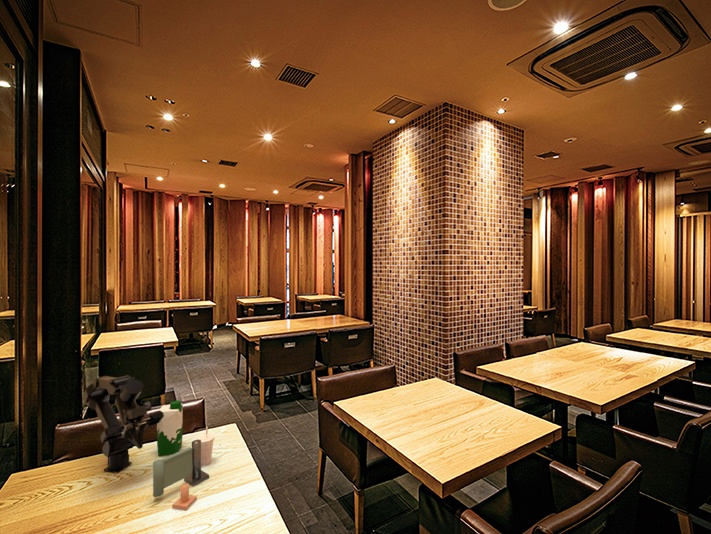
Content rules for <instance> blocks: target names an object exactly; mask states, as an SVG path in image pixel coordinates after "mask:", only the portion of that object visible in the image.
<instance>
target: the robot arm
mask: <svg viewBox="0 0 711 534" xmlns="http://www.w3.org/2000/svg"><path fill="white" fill-rule="evenodd" d="M143 390H144V383H143V382H142V381H141V380H139V379H136V378H135V376H133V377H131V375H124V376H120V377H114V376H109V375H103V376H99V377H95V378H94V379H93V380H92V381H91V384H89V385H88V386H87V387H86V388H85V390H84V393H83V395H82V400H83V402H84V404H85V405H86V406H87V407H88V408H89V409H92V410H94V411H95V412H96V414H97V416H98V419H99V420H100V422H101V424H102V426H103V428H104V429H103V431H102V432H101V435H100V441H101V443H102V444H103V446H102V447H101V448H102V449H101V450H102V455H103V456H105V457H106V458H107V467H106V468H103V472H110V473H116V474H117V473H120V472H121V471H123V470H124V469H126V468H127V467H129V466H130V465H132V464H133V462H132V461H130V454H129V450H131V449H133V447H134V446H135V447H136V448H137V449H138V450H140V449H142V448H143V446H144V445H143V443H144V434H145V433H144V432H145V430H146V428H147V427H152V426H155V425H157V424H158V423H159V422H160V421H161V420H162V418H163V417H164V414H163V412H162V411H159V410H156V411H155V412H151V413H150V414H149V415H148V412H149V411H152V409H153V408H152V404H151V402H150V401H146V402H144V403H142V406H140V404H137V401H136V400H137V399H138V398H139V396H140V394H141V393H142V391H143ZM117 394H118V395H117ZM110 395H111V396H113V395H114V396H115V395H117V396H116V397H115V401H114V404H115V405H116V407H117V411H118V414H119V415H118V416H117V414H115V412H114V409H113V407H112V405H111V404H110V402H109V400H110ZM146 415H148V417H146V418H144V417H145V416H146ZM118 418H119V419H118ZM119 420H121V423H120V421H119Z"/></svg>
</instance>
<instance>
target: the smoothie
mask: <svg viewBox="0 0 711 534" xmlns="http://www.w3.org/2000/svg"><path fill="white" fill-rule="evenodd" d="M196 440H201V466H202V465H205V466H208V465H210V464H211V463H210V462H212V456H213V455H212V454H213V446H214V441H215V435H214V434H211V433H208V426H205V434H202V435H200V436H199V437H198V436H197V438H196ZM209 463H210V464H209ZM207 464H208V465H207Z"/></svg>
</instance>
